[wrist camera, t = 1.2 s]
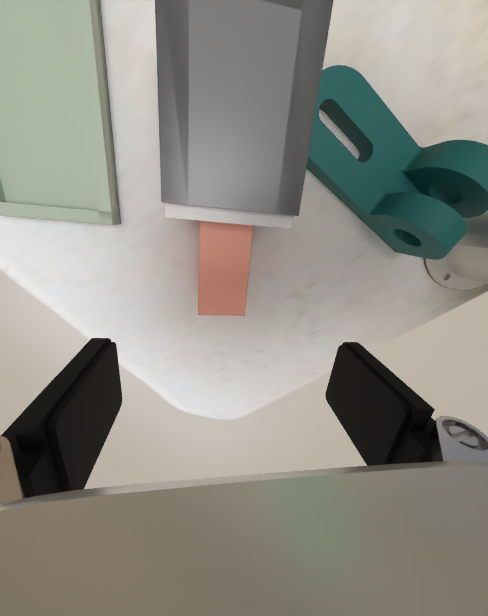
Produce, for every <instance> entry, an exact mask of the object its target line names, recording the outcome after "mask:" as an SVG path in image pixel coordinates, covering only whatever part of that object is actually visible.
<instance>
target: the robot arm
mask: <svg viewBox="0 0 488 616" xmlns="http://www.w3.org/2000/svg"><path fill="white" fill-rule="evenodd" d="M463 219H464V220H465V222H466V224H467V228H468V230H467V233H466V234H465V236H464V237H463V238H462V239H461V240H460V241H459V242H458V243H457V244H456V245H455V246H454V247H453V249H452V250H451V251H450V252H449V253H448V254H447V255H446V256H445V257H444V258H443V259H439V260H433V259H427V258H425V259H426V265H427V268H428V271H429V273H430V275H431V276H432V278H433V279H434V280H435V281H436V282H438V283H439V284H441V285H443V286H445V287H448V288H451V289H455V290H469V289H474V288H477V287H480V286H483V285H485V284H488V211H487V212H485V213H484V214H482V215H480V216H477V217H472V218H463ZM326 400H327V402H328V404H329V405H330V407H331V408H332V410H333V412H334V413H335V415H336V416H337V418H338V420H339V421H340V423H341V424H342V426H343V428H344V429H345V431H346V432H347V434H348V436H349V437H350V439H351V440H352V442H353V444H354V445H355V447H356V448H357V450H358V452H359V453H360V455H361V456H362V458H363V460H364V461H365V463H366V464H367V466H358V467H344V468H330V469H317V470H304V471H293V472H279V473H267V474H255V475H254V474H253V475H241V476H229V477H228V476H227V477H215V478H204V479H192V480H180V481H168V482H156V483H144V484H133V485H123V486H113V487H103V488H93V489H84V487H85V485H86V483H87V480H88V478H89V476H90V474H91V472H92V469H93V467H94V465H95V463H96V460H97V458H98V456H99V454H100V452H101V449H102V447H103V445H104V443H105V441H106V438H107V436H108V434H109V432H110V430H111V427H112V425H113V423H114V421H115V418H116V416H117V414H118V412H119V409H120V407H121V404H122V391H121V383H120V374H119V365H118V357H117V348H116V343H115V342H111V340H110V339H109V338H92V339H91V340H90V341H89V342H88V343H87V344H86V345H85V346H84V347H83V348H82V349H81V351H80V352H79V353H78V354H77V355H76V356H75V357H74V358H73V359H72V360H71V361H70V362H69V363H68V364H67V366H66V367H65V368H64V369H63V370H62V371H61V372H60V373H59V374H58V375H57V376H56V377H55V378H54V379H53V380H52V381H51V382H50V383H49V385H48V386H47V387H46V388H45V389H44V390H43V391H42V392H41V393H40V394H39V395H38V396H37V398H36V399H35V400H34V401H33V402H32V403H31V404H30V405H29V406H28V407H27V408H26V409H25V410H24V411H23V413H22V414H21V415H20V416H19V417H18V418H17V419H16V420H15V421H14V422H13V423H12V424H11V426H10V427H9V428H8V429H7V430H6V431H5V432H4V433H3V434H2V435H1V436H0V616H488V437H487V436H486V435H485V434H484V433H482V432H481V431H480V430H478V429H477V428H475V427H474V426H472V425H470V424H468V423H467V422H464V421H462V420H460V419H457V418H454V417H449V416H440V417H438V418H437V419H436V421H434V420H433V419H432V418H431V416H432V414H433V412H434V410H435V409H433V408H432V407H431V406H430V405H429V404H428V403H427V402H425V401H424V400H423V399H422V398H421V397H420V396H418V394H416V393H415V392H414V391H413V390H412V389H411V388H409V387H408V386H407V385H406V384H405V383H404V382H403V381H401V380H400V379H399V378H398V377H397V376H396V375H395V374H393V373H392V372H391V371H390V370H389V369H388V368H387V367H385V366H384V365H383V364H382V363H381V362H380V361H379V360H377V359H376V358H375V357H374V356H373V355H372V354H371V353H369V352H368V351H367V350H366V349H365V348H364V347H363V346H361V345H360V344H359V343H357V342H344V343H343V344H342V345H340V346H339V348H338V351H337V354H336V358H335V362H334V365H333V369H332V372H331V376H330V380H329V383H328V387H327V391H326ZM83 489H84V490H83Z"/></svg>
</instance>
